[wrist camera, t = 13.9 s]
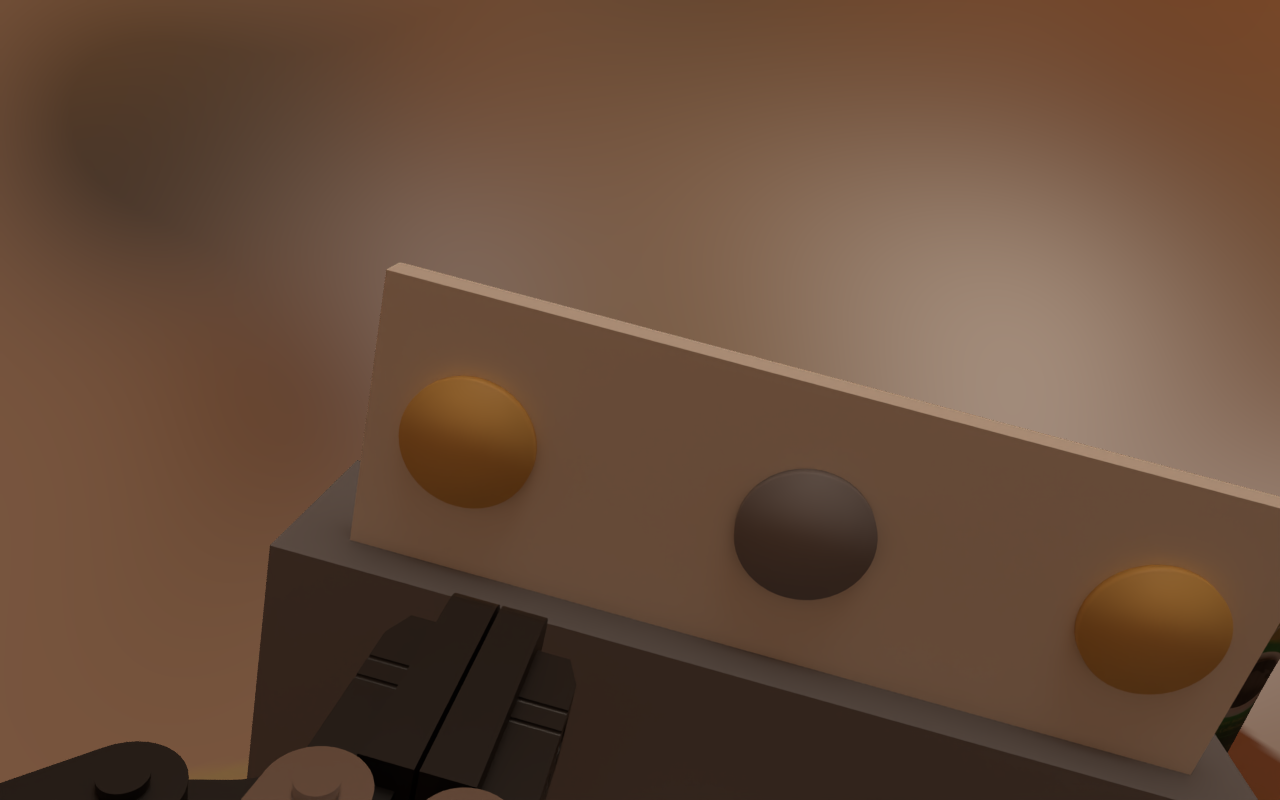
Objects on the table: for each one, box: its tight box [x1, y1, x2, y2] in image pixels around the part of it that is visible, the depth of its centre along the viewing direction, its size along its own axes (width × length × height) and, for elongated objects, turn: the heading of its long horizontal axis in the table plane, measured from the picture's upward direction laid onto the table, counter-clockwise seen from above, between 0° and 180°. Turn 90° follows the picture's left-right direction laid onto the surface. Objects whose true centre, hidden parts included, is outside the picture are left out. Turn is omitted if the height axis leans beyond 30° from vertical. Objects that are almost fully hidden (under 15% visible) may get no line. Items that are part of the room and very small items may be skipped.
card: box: [350, 262, 1280, 775], centre depth 22 cm, size 21×1×7 cm, turn 82°
